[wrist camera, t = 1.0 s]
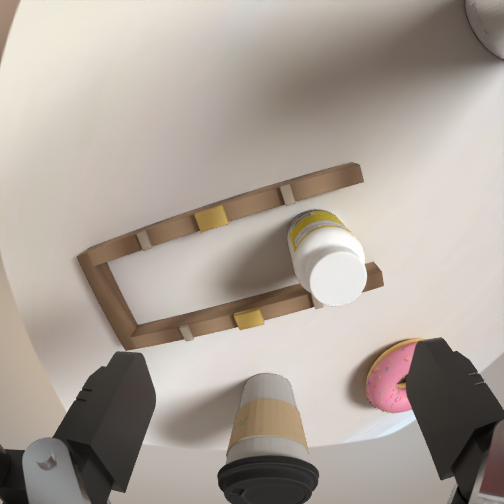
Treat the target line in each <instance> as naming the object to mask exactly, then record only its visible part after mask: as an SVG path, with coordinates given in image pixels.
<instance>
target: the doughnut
mask: <svg viewBox="0 0 504 504" xmlns="http://www.w3.org/2000/svg"><path fill="white" fill-rule="evenodd" d="M421 340H427V339H410V340H406V341H403V342H400V343H398V344H396V345H394V346H392V347H391V348H389V349H388V350H386V351H385V352H384V353H383V354H382V355H381V356H380V357H379V358H378V359H377V360H376V361H375V362H374V364H373V365H372V367H371V369H370V371H369V373H368V376H367V380H366V393H367V397H368V398H367V399H369V400H370V401H371V402H372V404H373V405H374V406H375V408H376V407H377V408H378V409H380V410H382V412H383V411H386V412H388V413H389V412H391V413H399V412H404V411H408V410H411V409H412V407H411V405H410V403H409V400H408V398H407V394H406V382H404V383H401V384H397V383H398V382H399V380H400V379H401V378H402V379H403V377H404V378H405V375H407V374H408V372H409V369H410V365H411V361H412V357H413V353H414V349H415V346H416V344H417V342H418V341H421ZM371 402H370V403H371Z"/></svg>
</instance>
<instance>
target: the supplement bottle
mask: <svg viewBox="0 0 504 504" xmlns="http://www.w3.org/2000/svg"><path fill="white" fill-rule="evenodd" d="M287 241H288V247H289V252H290V255H291V259H292V263H293V268H294V272H295V275H296V277H297V279H298V281H299V283H300V284H301V285H302V287H303V288H304V289H306V290H307V291H308V292H310V293H312V295H313V296H314V297H315V298H316V299H317V300H318V301H319V302H320V303H322V304H324V305H328V306H343V305H346V304H348V303H350V302H352V301H353V300H355V299H356V298H357V297H358V296H359V295H360V294H361V292H362V291H363V289H364V287H365V285H366V281H367V272H366V268H365V265H364V263H365V257H364V252H363V249H362V246H361V245H360V243H359V241H358V240H357V239H356V237H355V236H354V235H353V234H352V233H351V232H350V231H349V230H348V229H347V227H346V226H345V225H344V224H343V223H342V222H341V221H340V220H339V219H338V218H337V217H336V216H335V215H333V214H332V213H330V212H328V211H325V210H321V209H313V210H308V211H306V212H303V213H301V214H300V215H299V216H297V217H296V218H295V219H294V221H293V222H292V223H291V225H290V227H289V230H288V235H287Z"/></svg>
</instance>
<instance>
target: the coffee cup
mask: <svg viewBox="0 0 504 504" xmlns="http://www.w3.org/2000/svg"><path fill="white" fill-rule="evenodd" d="M308 455H309V451H308V446H307V442H306V438H305V434H304V430H303V425H302V421H301V417H300V413H299V411H298V409H297V406H296V402H295V398H294V394H293V390H292V386H291V384H290V382H289V381H288V380H287V379H286V378H284V377H282V376H280V375H276V374H270V373H264V374H258V375H255V376H253V377H251V378H250V379H249V380H248V381H247V382H246V384H245V386H244V389H243V393H242V398H241V402H240V406H239V410H238V412H237V414H236V417H235V421H234V426H233V430H232V434H231V438H230V442H229V446H228V450H227V454H226V456H227V461H226V465H225V466H223V467H222V468H221V469H220V470H219V472H218V476H217V477H218V485H219V487H220V489H221V490H222V491H223V492H224V495H225V498H226V499H227V500H228V501H229V502H230V503H232V504H303V503H305V502H306V501H308V500H309V498H310V497H311V495H312V491H314V490H315V488H316V487H317V485H318V478H319V472H318V470H317V469H316V468H315V466H313V465H312V464H310V462H309V458H308Z"/></svg>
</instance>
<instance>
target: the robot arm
mask: <svg viewBox="0 0 504 504" xmlns="http://www.w3.org/2000/svg"><path fill="white" fill-rule="evenodd" d="M465 8H466V14H467V17H468V20H469V22H470V25H471V27H472V29H473V31H474V32H475V34H476V35H477V37H478V38H479V40H480V41H481V42H482V44H483V45H484V46H485V47H486V48H487V49H488V50H489V51H490V52H492V53H493V54H494V55H496V56H497V57H499V58H501V59H504V0H465ZM406 394H407V398H408V400H409V403H410V405H411V407H412V410H413V412H414V414H415V417H416V419H417V421H418V424H419V426H420V429H421V431H422V433H423V436H424V438H425V441H426V443H427V446H428V448H429V451H430V453H431V456H432V459H433V461H434V464H435V466H436V469H437V472H438V474H439V477H440V480H444V479H447V478H450V477H453V476H455V479H456V482H457V483H456V484H455V485H454V487H453V490H452V492H451V495H450V498H449V500H448V502H447V504H504V410H503V409H502V407H501V405H500V403H499V402H498V400H497V399H496V397H495V396H494V394H493V393H492V392H491V390H490V388H489V387H488V386H487V384H486V383H484V380H483V378H482V377H481V375H480V374H478V371H477V370H476V368H475V367H474V365H473V364H472V363H471V361H470V360H469V359H467V358H466V357H465V356H463V355H462V354H460V353H459V352H458V351H454V352H453V351H452V349H451V348H450V347H449V345H448V344H447V343H446V341H445V340H444V339H443V338H441V337H440V338H434V339H427V340H421V341H418V342H417V344H416V346H415V349H414V353H413V357H412V361H411V365H410V369H409V372H408V376H407V379H406ZM155 404H156V393H155V389H154V386H153V383H152V380H151V377H150V374H149V371H148V368H147V365H146V361H145V358H144V356H143V355H142V354H141V353H136V352H120V351H118V352H116V353H115V354H114V355H113V357H112V359H111V360H110V362H109V363H108V365H107V367H104V366H102V367H100V368H99V369H98V370H97V371H96V372H94V373H93V374H92V375H91V376H89V378H88V380H87V381H86V383H85V384H84V386H83V388H82V391H80V392H79V394H78V396H77V397H76V401H74V402H73V404H72V406H71V407H70V409H69V410H68V412H67V414H66V415H65V417H64V419H63V421H62V422H61V424H60V426H59V427H58V429H57V431H56V433H55V434H54V436H53V437H52V438H42V439H39V440H36V441H35V442H33V443H32V444H31V445H29V446H28V447H27V449H26V450H8V449H4V448H3V447H2V446H1V445H0V499H1V500H2V501H3V504H111V502H110V500H109V499H108V497H109V494H110V492H111V490H115V491H119V492H123V493H125V492H126V489H127V486H128V483H129V480H130V477H131V474H132V471H133V468H134V465H135V462H136V460H137V457H138V454H139V450H140V448H141V445H142V442H143V440H144V437H145V434H146V431H147V428H148V426H149V423H150V420H151V417H152V415H153V412H154V409H155Z"/></svg>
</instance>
